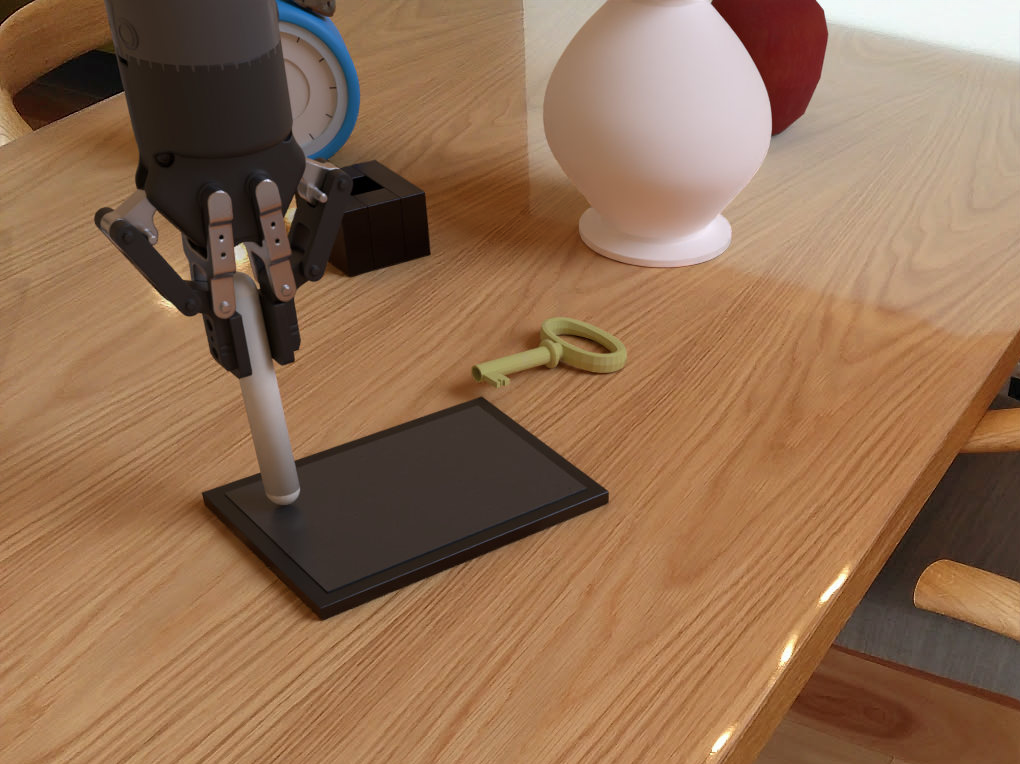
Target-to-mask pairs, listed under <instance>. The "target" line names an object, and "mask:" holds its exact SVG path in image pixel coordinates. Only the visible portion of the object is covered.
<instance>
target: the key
mask: <svg viewBox="0 0 1020 764" xmlns="http://www.w3.org/2000/svg"><path fill="white" fill-rule="evenodd" d="M540 326H541V327H540V330H539V339H540V342H539V344H538V347H535V348H531V349H528V350H524V351H520V352H517V353H513V354H510V355H509V354H508V355H507V356H506V355H505V356H503V357H499V358H496V359H491V360H488V361H485V362H481V363H477V364H474V365H472V366H471V368H470V375H471V377H472V379H473V381H474V382H476V383H477V384H480V383H484V382H486V383H488V384H489V385H490V386H492V387H494V388H495V389H499V388H501V387H507V386H510V385H511V379H510V378H509V377H507V376H508V375H511V374H515V373H518V372H523V371H525V370H529V369H532V368H537V367H540V366H543V365H544V366H545V367H546V368H549V369H553V368H556V367H557V366H558V364H559V362H560V361H562V362H564V363H565V364H568V365H570V366H572V367H574V368H578V369H580V370H584V371H587V372H592V373H600V374H601V373H603V374H604V373H605V374H607V373H614V372H617V371H620V370H621V369H622V368H623V367H625V364H626V361H627V359H628V351H627V348H626V346H625V344H624V343H623V342H622V341H621V339H619V338H618V337H616V336H614V335H613V334H611V333H609V332H608V331H606V330H604V329H602V328H599V327H597V326H595V325H594V324H591V323H589V322H585V321H582V320H579V319H576V318H571V317H567V316H566V317H565V316H553V317H549V318H546V319H545V320H543V321H542V323H541V325H540ZM558 335H572V336H576V337H577V336H578V337H583V338H586V339H590V340H592V341H594V342H596V343H598V344H600V345H601V346H604V347H605V348H606V349H607V350H608V351H609V353H597V352H592V351H589V350H586V349H582V348H580V347H578V346H576V345H573V344H571V343H570V342H567V341H565V339H562V338H561V337H560V336H558Z"/></svg>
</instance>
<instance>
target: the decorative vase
mask: <svg viewBox="0 0 1020 764" xmlns="http://www.w3.org/2000/svg"><path fill="white" fill-rule="evenodd" d="M542 119H543V121H542V122H543V130H544V131H543V132H544V135H545V139H546V142H547V144H548V147H549V150H550V152H551V153H552V156H553V157H554V159H555V160H556V162H557V163H558V165H559V167H560V168H561V170H562V171H563V172H564V173H565V175H566V176H567V178H568V179H569V180H570V181H571V183H572V184H573V185H574V186H575V188H576V189H577V190H578V192H579V193H580V194H581V195H582V196H583V197H584V199H585V200H586V201H587V203H589V205H590V207H588V208H587V209H586V210H585V211H583V213H582V214H581V216H580V217H579V221H578V233H579V236H580V238H581V240H582V242H583V243H584V244H585V245H586V246H587V247H588V248H589V249H591V250H592V251H593V252H595V253H597V254H599V255H601V256H603V257H605V258H608V259H610V260H613V261H616V262H620V263H623V264H628V265H633V266H639V267H648V268H680V267H687V266H692V265H693V266H694V265H698V264H701V263H705V262H708V261H710V260H713V259H715V258H717V257H719V256H720V255H722V254H723V253H724V252H725V251H727V249H728V248H729V246H730V245H731V243H732V234H733V232H732V231H733V230H732V226H731V223H730V222H729V221H728V219H727V218H726V217H725V215H722V212H723V211H724V210H725V209H726V208H727V207H728V206H729V205H730V204H731V203H732V202H733V201H734V199H735V198H736V197H737V196H739V194H740V193H741V192H743V191H742V190H744V189H745V187H746V186H747V185H748V184H749V183H750V181H752V179H753V178H754V177H755V175H756V174H757V172H758V171H759V169H760V168H761V166H762V165H763V163H764V161H765V159H766V157H767V154H768V152H769V148H770V145H771V139H772V135H771V131H772V116H771V107H770V101H769V97H768V94H767V90H766V88H765V85H764V82H763V80H762V78H761V76H760V74H759V71H758V69H757V68H756V66H755V64H754V62H753V60H752V58H751V57H750V55H749V53H748V52H747V50H746V48H745V47H744V45H743V44H742V42H741V41H740V39H739V38H738V37H737V35H736V34H735V33H734V31H733V30H732V29H731V27H730V26H729V25H728V24H727V22H726V21H725V20H724V19H723V18H722V16H721V15H720V14H719V13H718V12H717V10H716V9H715V8H714V7H713V6H712V5H711V1H709V0H606V1H605V2H604V3H603V4H602V5H601V6H600V7H599V8H598V9H597V10H596V11H595V12H594V13H593V14H592V15H591V16H590V17H589V18H588V20H586V22H584V24H583V25H582V26H581V27H580V28H579V30H578V31H577V32H576V33H575V34H574V36H573V37H572V38H571V40H570V41H569V43H568V44H567V46H566V47H565V48H564V50H563V52H562V53H561V55H560V57H559V58H558V60H557V62H556V64H555V65H554V68H553V69H552V72H551V74H550V76H549V79H548V82H547V84H546V89H545V92H544V99H543V108H542Z"/></svg>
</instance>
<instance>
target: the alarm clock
mask: <svg viewBox="0 0 1020 764" xmlns="http://www.w3.org/2000/svg"><path fill="white" fill-rule="evenodd" d="M275 1H276V3H277V6H278V10H279V31H280V37H281V44H282V51H283V57H284V64H285V70H286V77H287V84H288V90H289V97H290V104H291V110H292V117H293V125H292V133H293V135H294V138H295V140H296V142H297V143H298V144H299V146H300V147H301V148H302V150H303V152H304V154H305V157H307V158H310V159H312V160H314V159H316V158H324V159H326V160H327V161H329V162H330V160H329V159H331V158H332V157H333V156H335V155H336V154H337V153H338V152H339V151H340V150H341V149H342V148H343V147H344V145H345V144H346V143H347V141H348V140H349V138H350V137H351V135H352V133H353V132H354V129H355V126H356V124H357V121H358V118H359V113H360V107H361V106H360V105H361V87H360V86H361V85H360V80H359V77H358V73H357V69H356V66H355V64H354V61H353V59H352V57H351V55H350V52H349V49H348V48H347V45H346V43H345V41H344V39H343V36H342V34H341V32H340V31H339V29H338V28H337V26H336V24H335V23H334V22H333V20H332V19H331V18H332V17H334V15H335V13H336V8H337V0H275Z"/></svg>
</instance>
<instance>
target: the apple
mask: <svg viewBox="0 0 1020 764" xmlns="http://www.w3.org/2000/svg"><path fill="white" fill-rule="evenodd" d="M710 3H711V5H712V6H713V7H714V8H715V9H716V10H717V12H718V13H719V14H720V15H721V16H722V18H723V19H724V20H725V21H726V22H727V24H728V25H729V26H730V27H731V29H732V30H733V31H734V33H735V34H736V35H737V37H738V38H739V39H740V41H741V42H742V44H743V45H744V47H745V48H746V50H747V52H748V53H749V55H750V57H751V58H752V60H753V62H754V64H755V66H756V68H757V69H758V71H759V74H760V76H761V78H762V80H763V82H764V85H765V88H766V90H767V94H768V97H769V101H770V107H771V116H772V131H771V136H774V135H779V134H781V133H783V132H784V131H785V130H786V129H788V128H789V127H790V126H792V125H793V124H794V123H795V122H797V120H799V119H800V118H802V117H803V116H804V115H805V113H806V111H807V109H808V106H809V104H810V102H811V100H812V98H813V95H814V94H815V91H816V89H817V86H818V84H819V82H820V81H821V77H822V72H823V67H824V61H825V56H826V52H827V46H828V42H829V41H828V40H829V30H828V25H827V19H826V15H825V10H824V8H823V7H822V5H821V4H820V3H819V2H818V1H817V0H711V1H710Z"/></svg>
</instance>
